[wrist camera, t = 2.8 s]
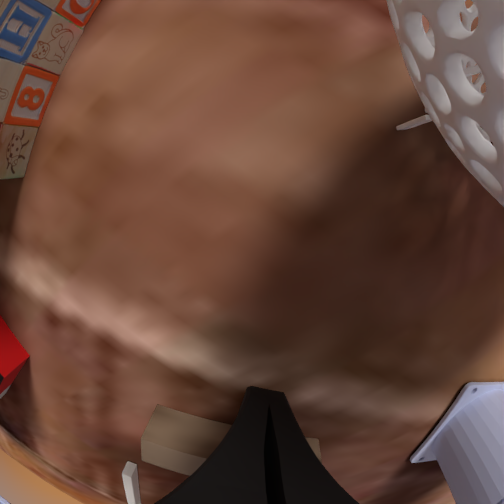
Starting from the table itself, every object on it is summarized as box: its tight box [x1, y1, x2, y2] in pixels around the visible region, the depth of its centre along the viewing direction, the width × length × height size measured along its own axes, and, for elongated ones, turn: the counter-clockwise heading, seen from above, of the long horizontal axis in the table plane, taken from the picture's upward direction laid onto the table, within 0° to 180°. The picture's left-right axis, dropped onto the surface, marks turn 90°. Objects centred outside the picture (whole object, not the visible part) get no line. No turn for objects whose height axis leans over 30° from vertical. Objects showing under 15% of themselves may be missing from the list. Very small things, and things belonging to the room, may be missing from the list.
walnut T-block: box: [141, 404, 322, 476], centre depth 14 cm, size 10×8×3 cm
